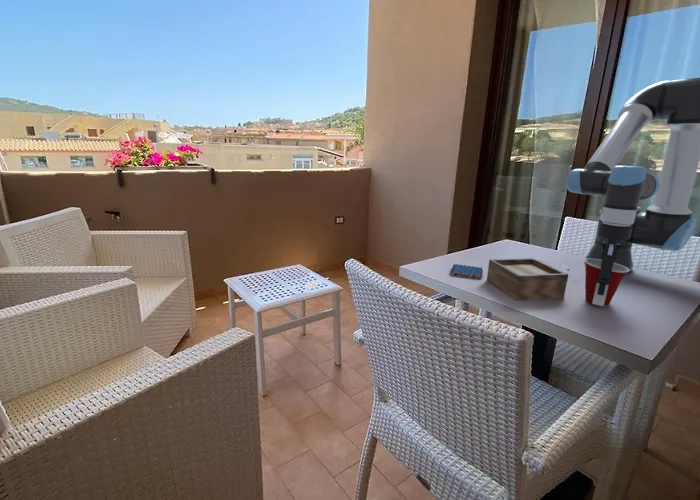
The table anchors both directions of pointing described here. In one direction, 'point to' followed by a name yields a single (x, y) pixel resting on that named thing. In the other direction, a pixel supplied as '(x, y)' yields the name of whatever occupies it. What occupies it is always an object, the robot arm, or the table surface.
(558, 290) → the open wooden box
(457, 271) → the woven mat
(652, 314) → the table surface
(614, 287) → the plastic cup
